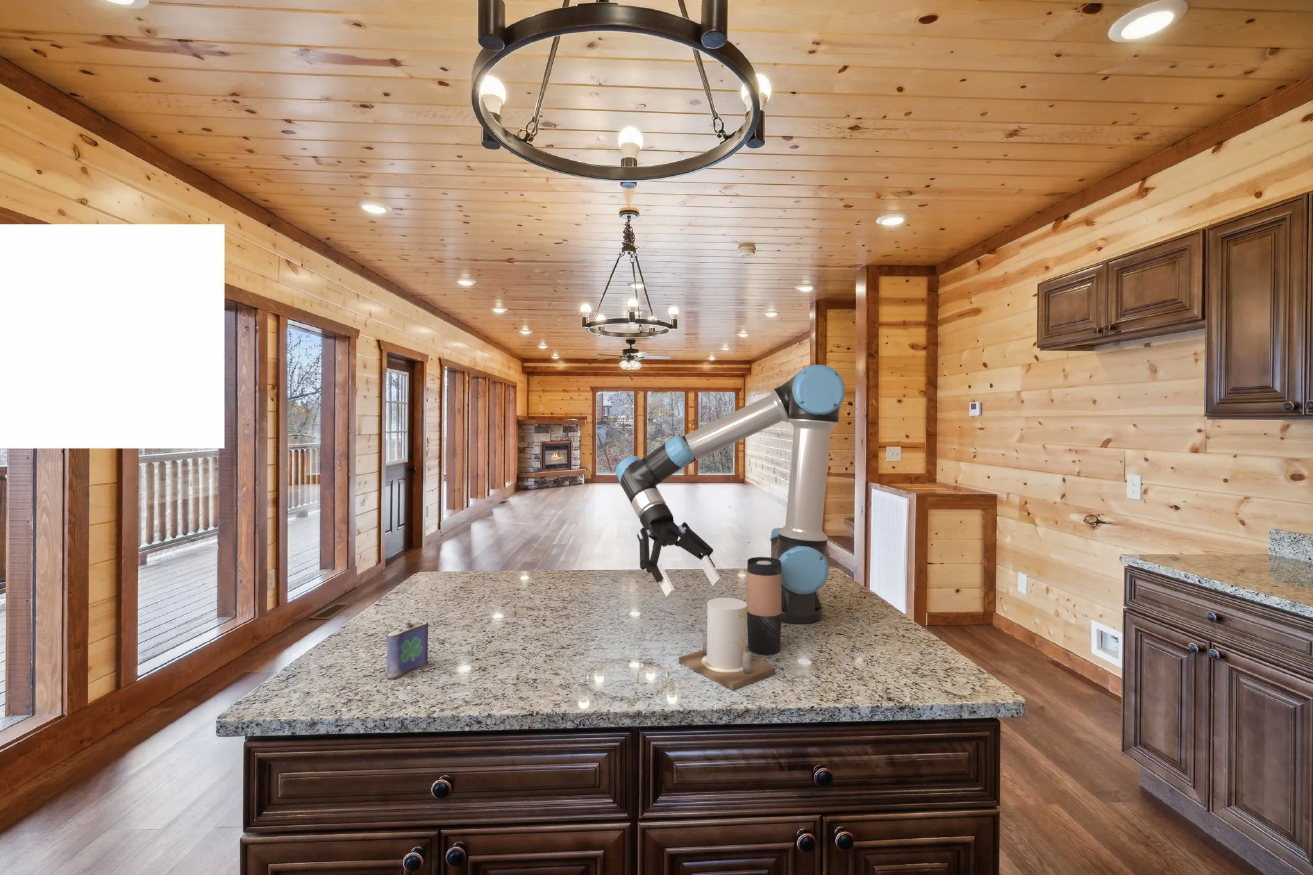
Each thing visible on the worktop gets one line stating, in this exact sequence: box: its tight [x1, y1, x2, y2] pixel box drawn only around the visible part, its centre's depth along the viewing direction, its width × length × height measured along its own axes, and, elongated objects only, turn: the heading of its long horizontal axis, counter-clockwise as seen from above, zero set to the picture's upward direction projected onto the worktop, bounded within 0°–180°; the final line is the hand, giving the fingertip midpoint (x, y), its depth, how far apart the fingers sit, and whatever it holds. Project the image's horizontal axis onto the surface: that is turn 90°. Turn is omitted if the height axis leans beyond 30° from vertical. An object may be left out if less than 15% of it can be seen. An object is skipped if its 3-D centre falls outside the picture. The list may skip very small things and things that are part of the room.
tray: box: [678, 633, 776, 692], centre depth 119 cm, size 16×12×5 cm
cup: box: [706, 597, 748, 669], centre depth 119 cm, size 8×8×12 cm
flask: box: [386, 617, 429, 681], centre depth 118 cm, size 9×3×11 cm, turn 151°
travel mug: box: [746, 556, 782, 656], centre depth 129 cm, size 8×8×20 cm
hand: (694, 587), depth 127 cm, fingers open, 13 cm apart
